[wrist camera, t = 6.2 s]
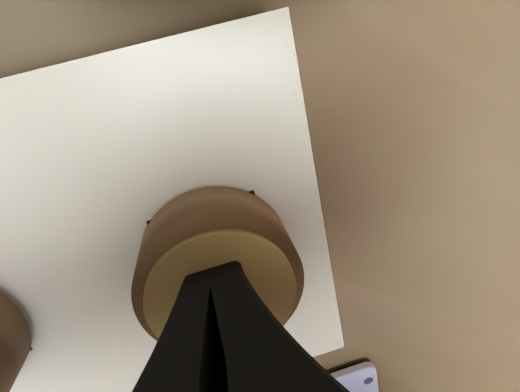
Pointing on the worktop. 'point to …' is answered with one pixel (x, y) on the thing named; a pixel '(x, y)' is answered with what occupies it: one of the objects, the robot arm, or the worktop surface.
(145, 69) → the mount plate
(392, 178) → the worktop surface
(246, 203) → the knob
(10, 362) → the knob middle
